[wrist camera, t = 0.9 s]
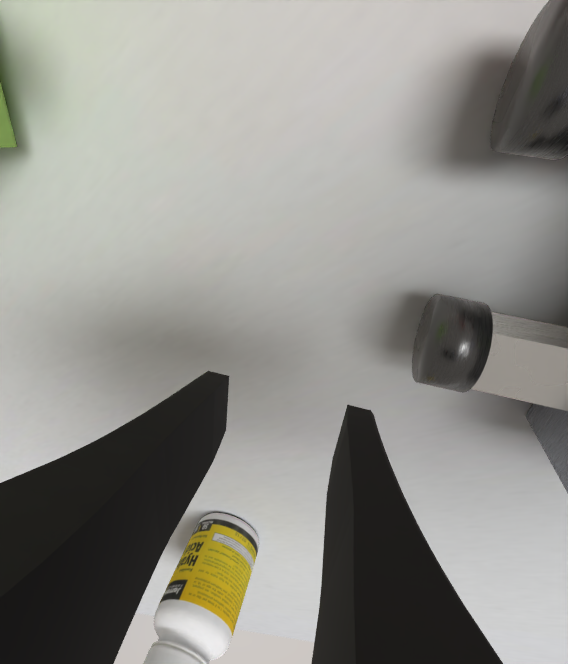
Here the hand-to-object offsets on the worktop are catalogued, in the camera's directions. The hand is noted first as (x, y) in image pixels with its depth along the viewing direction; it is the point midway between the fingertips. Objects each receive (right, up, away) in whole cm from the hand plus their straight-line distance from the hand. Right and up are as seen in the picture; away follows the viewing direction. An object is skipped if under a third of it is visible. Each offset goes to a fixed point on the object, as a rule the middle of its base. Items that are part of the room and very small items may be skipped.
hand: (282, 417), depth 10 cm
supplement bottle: (-4, -14, +20) cm, 25 cm away
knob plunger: (+12, +2, +6) cm, 14 cm away
